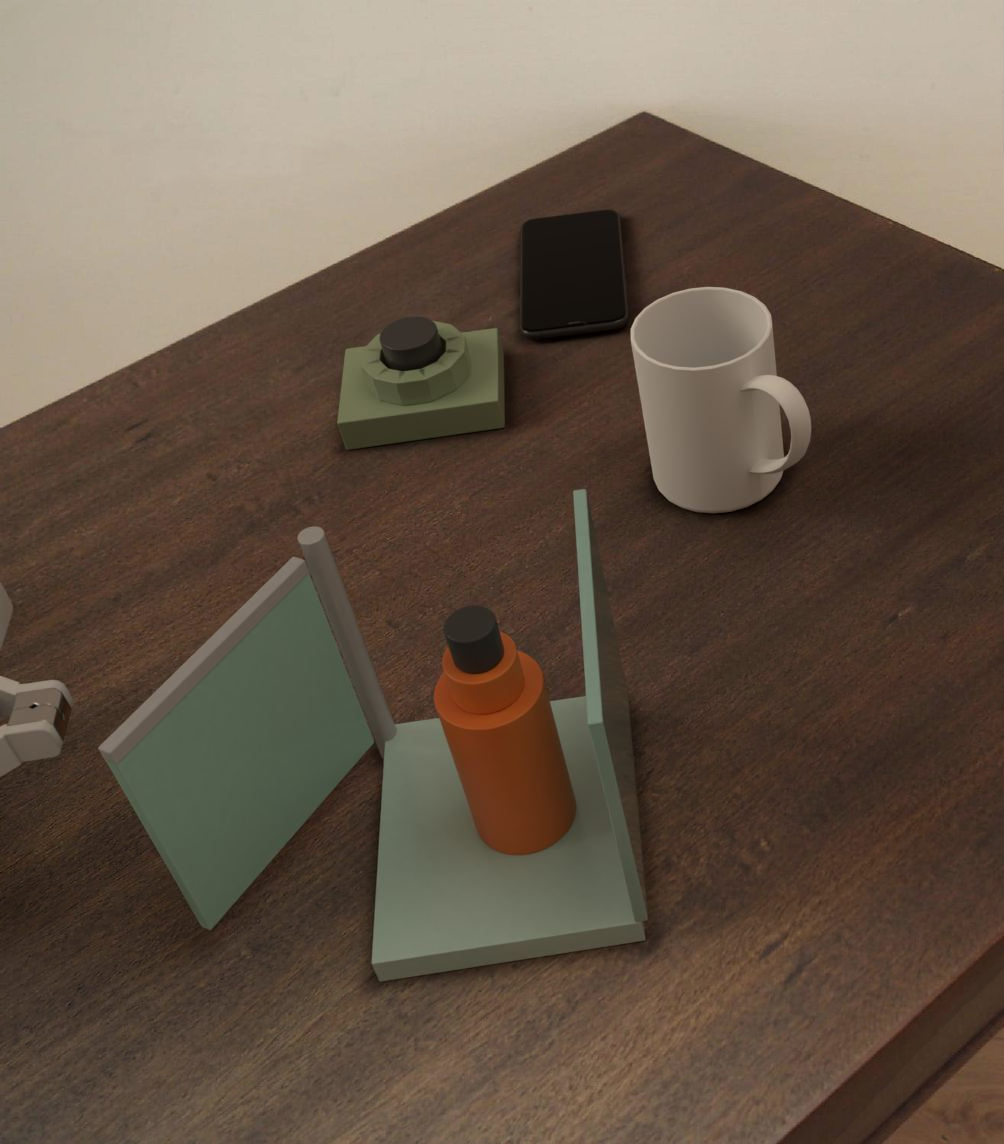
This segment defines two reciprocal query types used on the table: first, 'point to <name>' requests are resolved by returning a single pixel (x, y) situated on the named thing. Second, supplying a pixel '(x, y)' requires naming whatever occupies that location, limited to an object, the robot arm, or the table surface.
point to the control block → (423, 391)
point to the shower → (447, 830)
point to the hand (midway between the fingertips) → (62, 716)
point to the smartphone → (572, 275)
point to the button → (411, 343)
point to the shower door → (242, 743)
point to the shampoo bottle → (502, 736)
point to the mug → (714, 399)
